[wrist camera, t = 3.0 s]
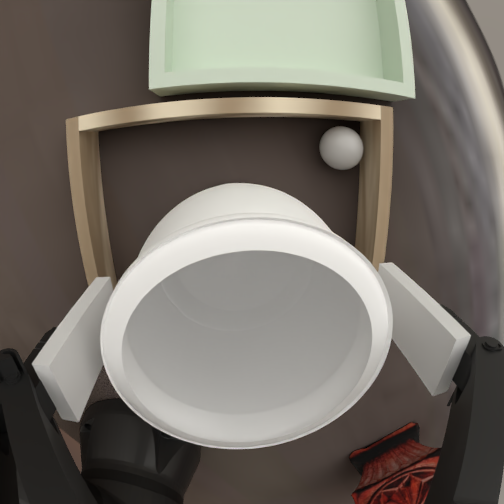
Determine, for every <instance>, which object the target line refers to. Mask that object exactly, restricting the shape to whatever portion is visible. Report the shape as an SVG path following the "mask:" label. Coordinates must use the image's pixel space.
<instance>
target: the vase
mask: <svg viewBox="0 0 504 504" xmlns="http://www.w3.org/2000/svg"><path fill="white" fill-rule="evenodd" d="M441 449H442V448H431V447H427V446H424V445H422V444H420V443H419V426H418V424H417V423H412V422H411V423H409V424H408V425H406V426H404V427H403V428H401V429H399V430H397V431H395V432H393V433H391V434H389V435H388V436H386V437H384V438H383V439H382V440H380V441H378V442H376V443H374V444H372V445H371V446H369V447H368V448H366V449H359V450H356V451H354V452H352V454H351V455H350V457H349V459H350V461H351V463H352V464H353V465H354V466H355V468H356V469H357V470H358V471H359V473H360V474H361V475H362V477H361V480H360V483H359V485H358V487H357V488H356V490H355V491H354V492H353V493H352V495H351V496H352V497H353V499H354V501H355V504H424V502H425V499H426V496H427V494H428V491H429V488H430V485H431V482H432V479H433V476H434V473H435V470H436V466H437V463H438V460H439V456H440V453H441Z"/></svg>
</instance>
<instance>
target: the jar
mask: <svg viewBox="0 0 504 504" xmlns="http://www.w3.org/2000/svg"><path fill="white" fill-rule="evenodd" d="M392 330H393V314H392V307H391V302H390V298H389V295H388V292H387V289H386V287H385V284H384V282H383V280H382V278H381V277H380V275H379V273H378V272H377V270H376V269H375V268H374V266H373V265H372V264H371V263H370V261H369V260H368V259H367V258H366V257H365V256H364V255H363V254H362V253H361V252H360V251H358V250H357V249H356V248H355V247H353V246H352V245H351V244H349V243H348V242H347V241H345V240H344V239H342V238H341V237H340V236H338V235H336V234H335V233H333V232H332V231H331V230H330V229H329V227H328V226H327V225H326V224H325V223H324V222H323V220H322V219H321V218H320V217H319V216H318V215H317V214H315V213H314V212H313V211H312V210H311V209H310V208H308V207H307V206H306V205H305V204H303V203H302V202H300V201H299V200H297V199H295V198H294V197H292V196H290V195H288V194H286V193H284V192H281V191H279V190H276V189H273V188H270V187H267V186H262V185H257V184H249V183H229V184H223V185H219V186H215V187H212V188H209V189H206V190H203V191H201V192H199V193H197V194H195V195H193V196H191V197H189V198H187V199H186V200H184V201H183V202H181V203H180V204H178V205H177V206H176V207H175V208H173V209H172V210H171V211H170V212H169V213H168V214H167V215H166V216H165V217H164V218H163V219H162V220H161V221H160V222H159V223H158V225H157V226H156V227H155V228H154V230H153V231H152V232H151V234H150V235H149V237H148V239H147V240H146V242H145V244H144V245H143V247H142V249H141V251H140V253H139V256H138V258H137V259H136V260H135V261H134V262H133V263H132V264H131V265H130V267H129V268H128V269H127V270H126V271H125V273H124V274H123V276H122V277H121V279H120V280H119V282H118V283H117V285H116V287H115V289H114V290H113V292H112V295H111V297H110V299H109V301H108V303H107V306H106V308H105V312H104V315H103V319H102V324H101V332H100V346H101V354H102V359H103V363H104V367H105V370H106V372H107V375H108V377H109V379H110V381H111V383H112V385H113V387H114V388H115V390H116V392H117V393H118V394H119V396H120V397H121V398H122V400H123V401H124V402H125V403H126V404H127V405H128V407H129V408H130V409H131V410H132V411H134V412H135V413H136V414H137V415H138V416H139V417H141V418H142V419H143V420H144V421H146V422H147V423H149V424H150V425H152V426H153V427H155V428H157V429H158V430H160V431H162V432H164V433H166V434H168V435H170V436H173V437H175V438H178V439H180V440H183V441H186V442H190V443H193V444H197V445H202V446H207V447H213V448H222V449H252V448H261V447H268V446H273V445H277V444H282V443H285V442H289V441H292V440H295V439H298V438H300V437H303V436H305V435H308V434H310V433H312V432H314V431H316V430H318V429H320V428H322V427H324V426H326V425H327V424H329V423H331V422H332V421H334V420H335V419H337V418H338V417H339V416H341V415H342V414H343V413H345V412H346V411H347V410H348V409H350V408H351V407H352V406H353V405H354V404H355V403H356V402H357V401H358V400H359V399H360V398H361V397H362V396H363V395H364V394H365V392H366V391H367V390H368V389H369V387H370V386H371V385H372V383H373V382H374V380H375V379H376V377H377V376H378V374H379V372H380V370H381V368H382V366H383V364H384V362H385V359H386V357H387V354H388V351H389V347H390V343H391V338H392Z"/></svg>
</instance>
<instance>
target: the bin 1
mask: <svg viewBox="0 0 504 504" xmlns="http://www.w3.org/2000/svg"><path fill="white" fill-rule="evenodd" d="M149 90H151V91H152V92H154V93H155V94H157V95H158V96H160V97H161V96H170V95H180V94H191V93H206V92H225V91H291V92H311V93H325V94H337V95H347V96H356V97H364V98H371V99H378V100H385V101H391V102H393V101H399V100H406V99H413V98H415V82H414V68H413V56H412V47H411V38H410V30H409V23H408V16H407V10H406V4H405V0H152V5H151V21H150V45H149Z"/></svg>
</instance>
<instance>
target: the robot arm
mask: <svg viewBox="0 0 504 504" xmlns="http://www.w3.org/2000/svg"><path fill="white" fill-rule="evenodd" d="M378 273H379V275H380V277H381V278H382V280H383V282H384V284H385V287H386V289H387V292H388V295H389V298H390V302H391V307H392V314H393V330H392V339H393V340H394V342H395V343H396V345H397V346H398V347H399V349H400V350H401V352H402V353H403V354H404V356H405V357H406V359H407V360H408V361H409V363H410V364H411V366H412V367H413V368H414V370H415V371H416V373H417V374H418V376H419V377H420V379H421V380H422V382H423V383H424V384H425V386H426V387H427V389H428V390H429V392H430V393H431V395H432V396H435V395H438V394H441V393H444V392H447V390H448V388H449V386H450V384H451V382H452V380H453V381H454V382H455V384H456V385H457V386H456V389H455V391H454V392H453V394H452V396H451V398H450V400H449V402H448V404H447V406H450V404H451V402H452V405H451V410H450V415H449V420H448V424H447V429H446V433H445V437H444V441H443V445H442V449H441V453H440V456H439V460H438V463H437V466H436V470H435V473H434V476H433V479H432V482H431V485H430V488H429V491H428V494H427V496H426V499H425V502H424V504H498V499H499V494H500V488H501V482H502V475H503V466H504V347H503V345H502V344H501V343H500V342H499V341H498V340H496V339H494V338H492V337H486V336H484V337H479V336H478V335H477V334H476V333H475V332H474V331H473V330H472V329H471V328H470V327H469V326H468V325H466V324H465V323H464V322H462V320H461V319H460V318H459V317H457V315H456V314H455V313H454V312H453V311H452V310H451V309H449V308H447V307H445V306H443V305H439V304H438V303H437V302H436V301H435V300H434V299H433V298H432V297H431V296H429V295H428V294H427V293H426V292H425V291H424V290H423V289H422V288H421V287H420V286H418V285H417V284H416V283H415V282H414V281H413V280H412V279H411V278H409V277H408V276H407V275H406V274H405V273H404V272H403V271H401V270H400V269H399V268H398V267H397V266H396V265H395V264H393V263H379V270H378ZM112 292H113V287H112V283H111V278H110V277H96V278H95V280H94V281H93V282H92V283H91V285H90V286H89V287H88V288H87V290H86V291H85V292H84V293H83V295H82V296H81V297H80V298H79V300H78V301H77V302H76V303H75V305H74V306H73V307H72V309H71V310H70V311H69V313H68V314H67V315H66V317H65V318H64V319H63V321H62V322H61V323H60V325H59V326H58V327H53V328H52V329H51V330H49V331H48V332H47V333H45V335H44V336H43V337H42V339H41V340H40V343H38V344H37V345H36V347H35V349H34V350H33V351H32V352H31V354H30V355H29V357H28V358H27V359H26V361H25V362H24V364H23V362H22V360H21V358H20V356H19V354H18V352H17V350H15V349H10V348H7V349H3V350H1V351H0V504H183V500H184V494H185V492H186V490H187V488H188V486H189V484H190V481H191V479H192V477H193V475H194V473H195V471H196V468H197V466H198V464H199V461H200V449H201V445H197V444H193V443H190V442H186V441H183V440H180V439H178V438H175V437H173V436H170V435H168V434H166V433H164V432H162V431H160V430H158V429H157V428H155V427H153V426H152V425H150V424H149V423H147V422H146V421H144V420H143V419H142V418H141V417H139V416H138V415H137V414H136V413H135V412H134V411H132V410H131V409H130V408H129V407H128V405H127V404H126V403H125V402H124V401H123V400H122V399H108V400H103V401H99V402H96V403H94V404H93V405H91V406H90V407H89V408H88V409H87V410H86V412H85V414H84V417H83V420H82V422H81V426H80V448H81V462H82V471H81V474H80V472H79V470H78V468H77V466H76V464H75V462H74V460H73V458H72V456H71V454H70V452H69V450H68V448H67V445H66V443H65V441H64V439H63V437H62V434H61V432H60V430H59V427H58V425H57V423H56V421H55V419H54V418H53V414H54V412H55V410H57V411H58V413H59V415H60V416H61V418H62V419H64V420H69V421H75V422H79V421H80V418H81V416H82V413H83V411H84V408H85V406H86V403H87V401H88V399H89V396H90V394H91V391H92V389H93V387H94V384H95V382H96V380H97V378H98V375H99V373H100V371H101V368H102V366H103V364H104V363H103V359H102V354H101V346H100V332H101V324H102V319H103V315H104V312H105V308H106V306H107V303H108V301H109V299H110V297H111V295H112Z"/></svg>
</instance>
